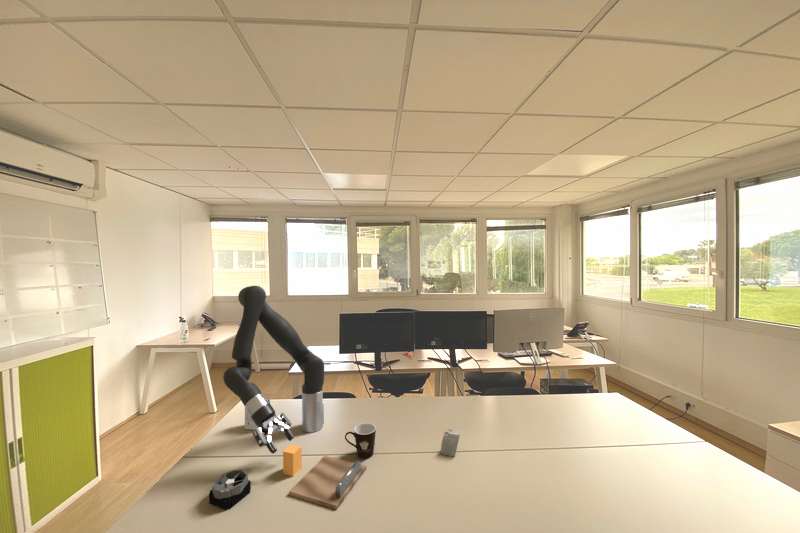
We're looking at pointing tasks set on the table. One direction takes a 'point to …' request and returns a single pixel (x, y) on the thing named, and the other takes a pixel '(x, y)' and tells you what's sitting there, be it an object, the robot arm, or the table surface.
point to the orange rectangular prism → (292, 460)
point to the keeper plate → (329, 481)
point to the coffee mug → (364, 439)
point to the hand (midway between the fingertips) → (283, 445)
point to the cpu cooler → (230, 489)
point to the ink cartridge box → (250, 421)
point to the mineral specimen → (450, 442)
